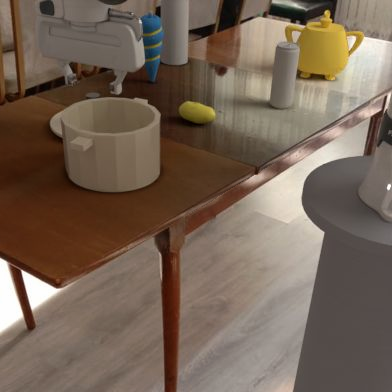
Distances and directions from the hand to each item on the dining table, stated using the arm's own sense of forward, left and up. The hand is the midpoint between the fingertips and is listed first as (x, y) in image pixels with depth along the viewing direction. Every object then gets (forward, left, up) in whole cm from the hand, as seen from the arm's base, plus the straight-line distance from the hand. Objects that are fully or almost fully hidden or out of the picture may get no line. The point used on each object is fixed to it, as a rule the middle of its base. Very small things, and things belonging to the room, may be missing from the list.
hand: (93, 88), depth 115 cm
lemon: (-16, -12, -8) cm, 21 cm away
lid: (0, 0, -7) cm, 7 cm away
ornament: (+2, -28, -8) cm, 29 cm away
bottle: (+4, -44, -8) cm, 45 cm away
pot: (-12, +14, -7) cm, 20 cm away
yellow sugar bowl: (-29, -55, -8) cm, 63 cm away
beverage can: (-28, -29, -8) cm, 41 cm away
